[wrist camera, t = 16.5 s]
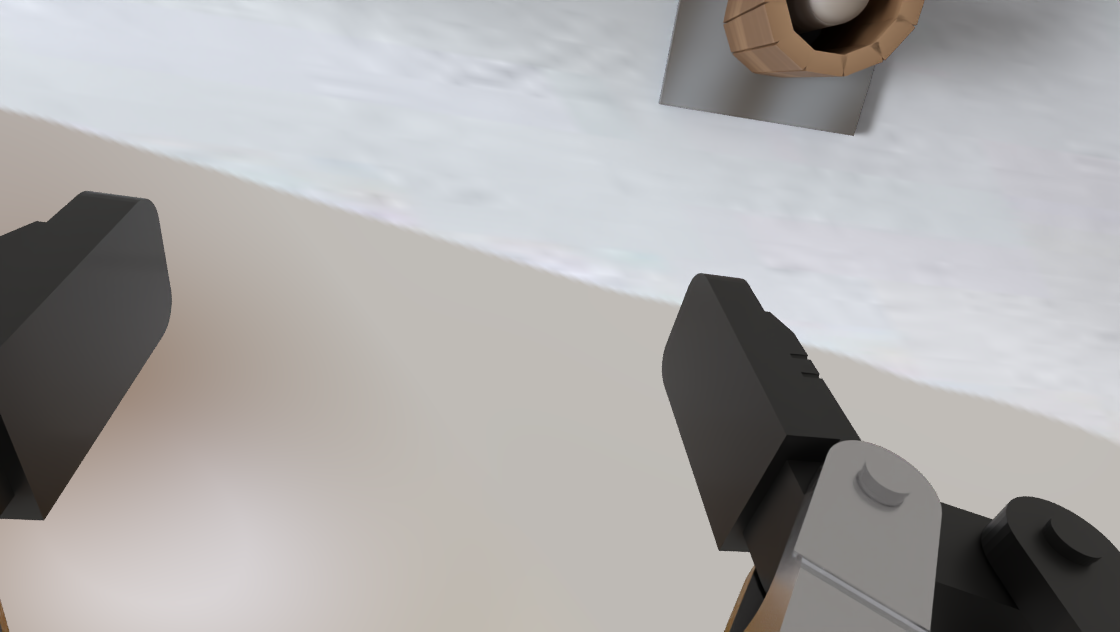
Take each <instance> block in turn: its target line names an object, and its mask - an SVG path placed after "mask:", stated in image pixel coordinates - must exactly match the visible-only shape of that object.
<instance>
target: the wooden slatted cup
mask: <svg viewBox="0 0 1120 632" xmlns="http://www.w3.org/2000/svg"><path fill="white" fill-rule="evenodd" d="M923 4H924V0H869V1H868V3H867V5H866V7H865V8H864V9H863V11H862V12H861V13H860V14H859V15H858V16H856V17H855V18H853V19H852V20H850V21H848V22H846V23H843V24H839V25H834V26H830V27H826V28H822V29H821V32H820V35H819V36H818V37H817V38H816V40H815V41H814V42H813V43H812V44H811V45H809V44H808V43H806V42H805V41H804V40H803V39H802V38H801V37H800V36H799V35H798V34H797V33H796V32H795V31H794V30H793V26H792V22H791V18H790V14H789V11H788V7H787V3H786V0H728V2H727V7H726V12H725V16H724V21H723V23H726V24H724V25H723V26H724V29H725V33H726V36H727V40H728V43H729V47H730V50H731V53H732V52H734V53H733V54H732V55H734V56H735V57H736V58H737V59H738V60H739V61H740V62H741V63H742V64H743V65H745V66H746V67H747V68H748V69H749V70H750V71H751V72H752V73H753V72H754V73H755V74H762V75H768V76H774V77H781V78H787V77H842V76H847V75H850V74H852V73H855V72H858V71H860V70H863V69H865V68H868V67H871V66H873V65H876V64H878V63H881V62H883V60H886V59H887V58H888V57H889V56H890V54H891V53H892V52H893V51H894V50H895V49H896V48H897V47H898V46H899V45H900V44H901V43H902V41H903V40H904V39H905V38H906V37H907V36H908V35H909V34H910V33H911V32H912V31H913V30H914V28H915V27H914V25H917V23H918V19H919V16H920V13H921V10H922V7H923Z"/></svg>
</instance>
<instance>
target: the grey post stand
mask: <svg viewBox="0 0 1120 632" xmlns="http://www.w3.org/2000/svg"><path fill="white" fill-rule="evenodd" d="M868 1H869V0H786V3H787V7H788V11H789V14H790V18H791V22H792V26H793V30H794V31H795V32H796V33H797V34H798V35H799V36H800V37H801V38H802V39H803V40H804V41H805V42H806V43H808V44H809V45H811V44H812V43H813V42H814V41H815V40H816V38H817V37H818V36H819V35H820V32H821V29H822V28H826V27H830V26H834V25H839V24H843V23H846V22H848V21H850V20H852V19H853V18H855V17H856V16H858V15H859V14H860V13H861V12H862V11H863V9H864V8H865V7H866V5H867V3H868ZM727 2H728V0H679V3H678V8H677V14H676V19H675V24H674V29H673V34H672V39H671V44H670V49H669V54H668V59H667V64H666V69H665V75H664V80H663V85H662V90H661V95H660V100H659V104H662V105H668V106H674V107H680V108H686V109H692V110H699V111H705V112H711V113H717V114H723V115H729V116H735V117H741V118H748V119H754V120H760V121H766V122H772V123H778V124H784V125H790V126H797V127H803V128H809V129H815V130H821V131H827V132H833V133H839V134H846V135H852V136H854V133H855V130H856V127H857V123H858V120H859V117H860V113H861V110H862V107H863V104H864V100H865V97H866V94H867V90H868V87H869V84H870V81H871V77H872V74H873V71H874V67H875V65H873V66H871V67H868V68H865V69H863V70H860V71H858V72H855V73H852V74H850V75H847V76H842V77H787V78H781V77H774V76H768V75H762V74H755V73H754V72H753V73H752V72H751V71H750V70H749V69H748V68H747V67H746V66H745V65H743V64H742V63H741V62H740V61H739V60H738V59H737V58H736V57H735V56H734V55H732V54H733V53H734V52H732V53H731V50H730V47H729V43H728V40H727V36H726V33H725V29H724V26H723V25H724V24H726V23H723V21H724V16H725V12H726V7H727Z"/></svg>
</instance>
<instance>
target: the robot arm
mask: <svg viewBox="0 0 1120 632" xmlns="http://www.w3.org/2000/svg"><path fill="white" fill-rule="evenodd" d="M171 297H172V296H171V287H170V282H169V276H168V270H167V264H166V258H165V252H164V246H163V240H162V234H161V229H160V223H159V217H158V213H157V210H156V208H155V206H154V204H153V203H152V202H151V201H150V200H148V199H144V198H137V197H129V196H122V195H114V194H107V193H99V192H92V191H84V192H82V193H80V194H78V195H77V196H76V197H75V198H74V199H73V200H71V201H70V202H69V203H68V204H67V205H66V206H65V207H63V208H62V209H61V210H60V211H59V212H58V213H57V214H55V215H54V216H53V217H52V218H51V219H50V220H49V221H47V222H39V221H36V222H33V223H31V224H29V225H26V226H24V227H21V228H19V229H17V230H14V231H12V232H9V233H7V234H5V235H2V236H0V519H24V520H44V519H45V518H46V516H47V515H48V513H49V512H50V510H51V509H52V507H53V505H54V504H55V502H56V501H57V499H58V498H59V496H60V495H61V493H62V492H63V490H64V488H65V487H66V485H67V484H68V482H69V481H70V479H71V478H72V476H73V474H74V473H75V471H76V470H77V468H78V467H79V465H80V464H81V461H83V459H84V457H85V456H86V454H87V453H88V451H89V450H90V448H91V447H92V445H93V443H94V442H95V440H96V439H97V437H98V436H99V434H100V432H101V431H102V430H103V428H104V426H105V425H106V423H107V422H108V420H109V419H110V417H111V415H112V414H113V412H114V411H115V409H116V408H117V406H118V405H119V403H120V401H121V400H122V398H123V397H124V395H125V394H126V392H127V391H128V389H129V388H130V386H131V384H132V383H133V381H134V380H135V378H136V377H137V375H138V374H139V372H140V371H141V369H142V367H143V366H144V364H145V363H146V361H147V359H148V358H149V357H150V355H151V353H152V352H153V350H154V349H155V347H156V346H157V344H158V342H159V341H160V340H161V338H162V336H163V334H164V333H165V331H166V328H167V326H168V322H169V318H170V313H171V305H172V298H171ZM807 356H808V355H807V353H806V352H805V350H804V349H803V347H802V345H801V344H800V342H799V341H798V339H797V337H796V336H795V334H794V333H793V332H792V331H791V330H790V329H789V328H788V327H786V326H785V325H784V324H783V323H782V322H781V321H780V320H778V319H777V318H776V317H775V316H774V315H773V314H772V313H771V312H765V311H764V309H763V308H762V306H761V304H760V303H759V301H758V299H757V298H756V296H755V294H754V293H753V291H752V289H751V288H750V286H749V284H748V283H747V281H745V280H744V279H741V278H734V277H726V276H718V275H711V274H703V273H699V274H697V275H696V276H695V277H694V278H693V279H692V281H691V282H690V285H689V287H688V289H687V292H686V295H685V297H684V300H683V302H682V305H681V307H680V310H679V313H678V315H677V318H676V320H675V323H674V326H673V328H672V331H671V333H670V336H669V339H668V341H667V344H666V347H665V350H664V354H663V361H662V376H663V383H664V386H665V389H666V392H667V395H668V398H669V401H670V404H671V407H672V410H673V413H674V416H675V419H676V422H677V425H678V428H679V431H680V435H681V438H682V440H683V444H684V446H685V450H686V453H687V455H688V458H689V462H690V465H691V468H692V471H693V474H694V477H695V479H696V483H697V486H698V489H699V492H700V495H701V498H702V501H703V504H704V507H705V510H706V513H707V516H708V519H709V522H710V525H711V528H712V531H713V534H714V537H715V540H716V543H717V547H718V549H719V551H740V552H750V554H751V557H752V559H753V562H754V566H753V568H752V569H751V571H750V572H749V574H748V576H747V578H746V580H745V582H744V584H743V587H742V589H741V591H740V594H739V596H738V599H737V601H736V603H735V606H734V608H733V611H732V613H731V616H730V618H729V620H728V623H727V625H726V628H725V630H724V632H1120V552H1119V551H1118V550H1117V548H1116V547H1115V546H1114V545H1113V544H1112V543H1111V542H1110V541H1109V540H1108V539H1107V538H1106V537H1105V536H1104V535H1103V534H1102V533H1101V532H1099V531H1098V530H1097V529H1096V528H1095V527H1093V526H1092V525H1091V524H1089V523H1088V522H1086V521H1085V520H1084V519H1082V518H1081V517H1079V516H1078V515H1076V514H1074V513H1073V512H1071V511H1069V510H1067V509H1065V508H1063V507H1061V506H1059V505H1057V504H1055V503H1052V502H1050V501H1047V500H1043V499H1040V498H1035V497H1026V496H1025V497H1024V496H1023V497H1017V498H1015V499H1013V500H1011V501H1010V502H1009V503H1008V504H1007V505H1006V507H1004V508H1003V509H1002V511H1001V512H1000V513H999V514H998V515H997V516H996V517H995V518H994V519H990V518H987V517H984V516H981V515H978V514H974V513H972V512H968V511H966V510H963V509H960V508H957V507H953V506H950V505H947V504H944V503H941V502H940V500H939V498H938V496H937V494H936V492H935V490H934V489H933V487H932V485H931V484H930V483H929V482H928V480H927V479H926V478H925V477H924V476H923V475H922V474H921V473H920V472H919V471H918V470H917V469H916V468H915V467H914V466H912V465H911V464H910V463H909V462H907V461H906V460H904V459H903V458H901V457H900V456H898V455H897V454H895V453H893V452H891V451H889V450H887V449H885V448H883V447H881V446H877V445H875V444H872V443H868V442H864V441H861V440H860V438H859V436H858V435H857V433H856V431H855V430H854V428H853V427H852V425H851V423H850V422H849V420H848V419H847V417H846V416H845V414H844V412H843V411H842V409H841V408H840V406H839V404H838V403H837V401H836V400H835V398H834V396H833V395H832V393H831V392H830V390H829V388H828V387H827V386H826V384H825V382H824V381H823V379H820V378H819V372H818V371H817V369H816V368H815V366H814V365H813V363H812V361H811V360H807ZM0 632H9V628H8V625H7V621H6V618H5V614H4V611H3V607H2V604H1V600H0Z"/></svg>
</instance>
